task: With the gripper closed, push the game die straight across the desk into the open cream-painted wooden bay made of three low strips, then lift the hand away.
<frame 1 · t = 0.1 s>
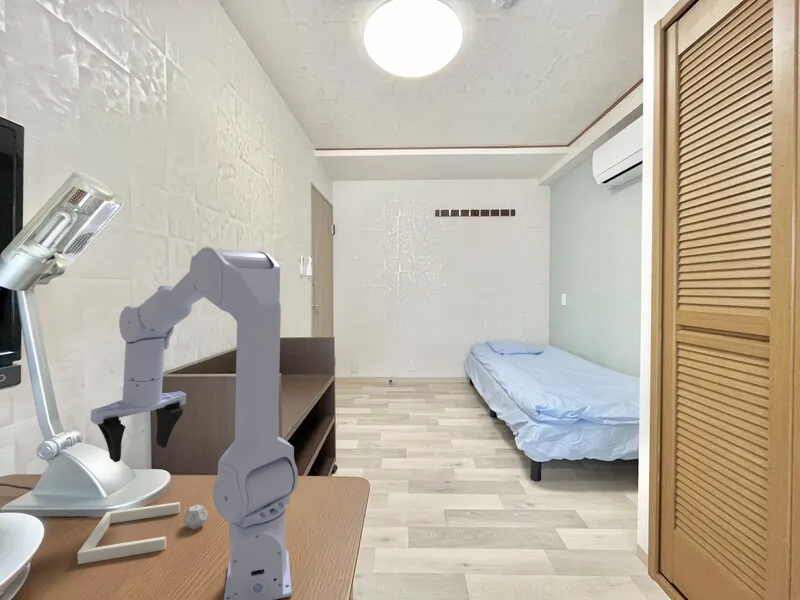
hand: (139, 452, 75), 11 cm above the table, fingers open, 7 cm apart
bay: (137, 534, 69), on the table
game die: (196, 527, 71), on the table
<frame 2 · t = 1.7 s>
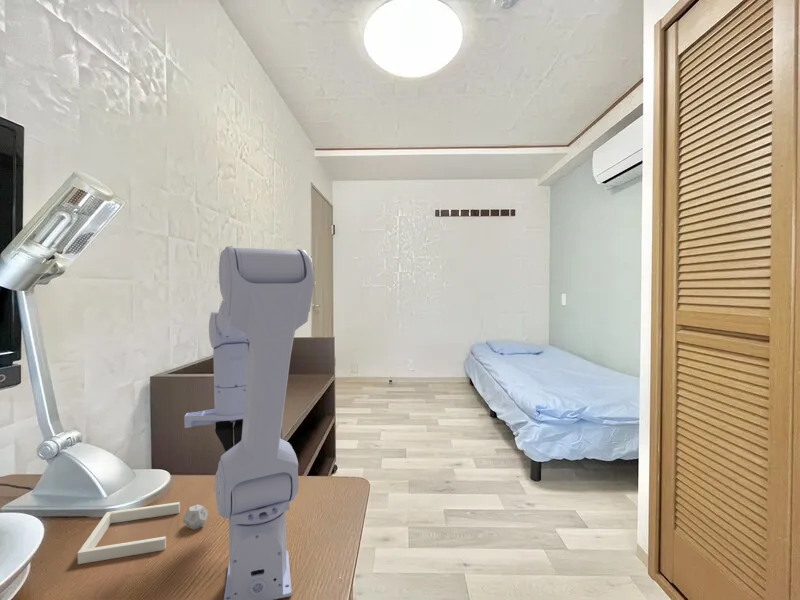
hand: (234, 465, 73), 9 cm above the table, fingers closed
nothing on the table moved.
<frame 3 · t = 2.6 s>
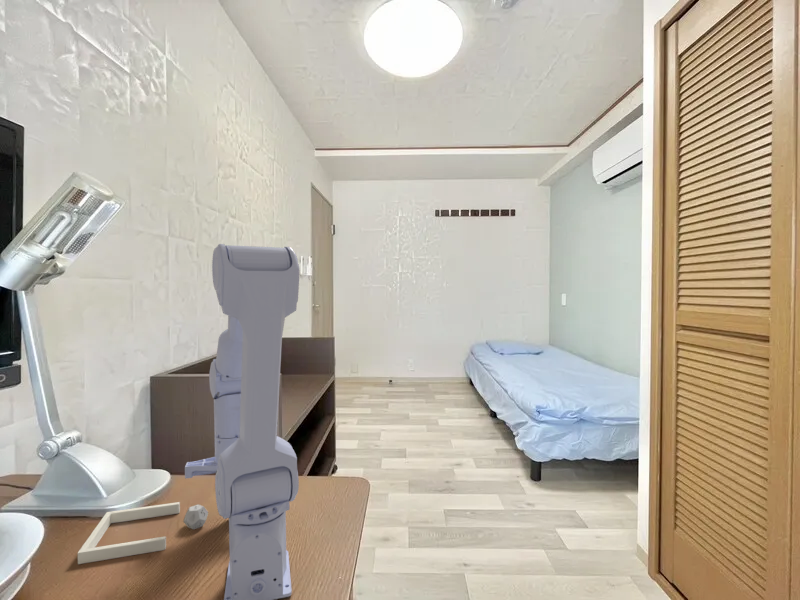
hand: (234, 513, 73), 1 cm above the table, fingers closed
nothing on the table moved.
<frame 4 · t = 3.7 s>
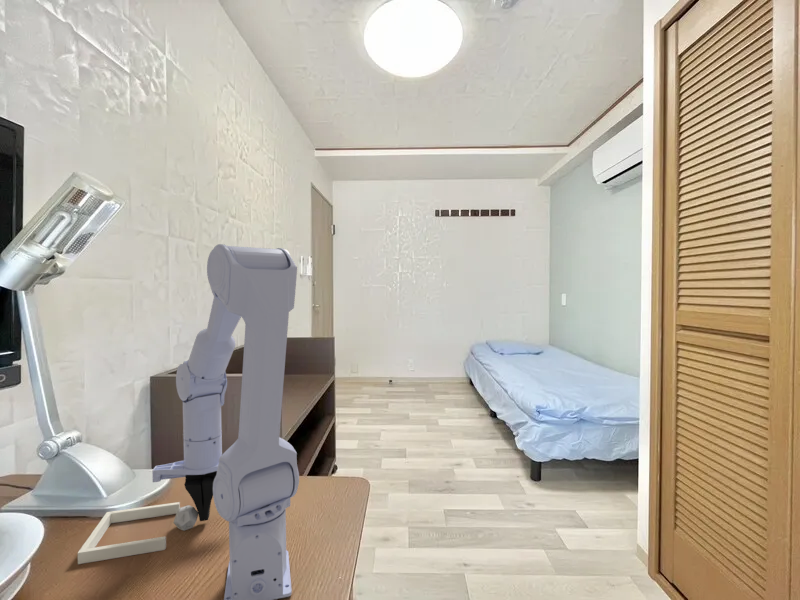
hand: (204, 517, 71), 1 cm above the table, fingers closed
game die: (186, 528, 71), on the table, touching gripper
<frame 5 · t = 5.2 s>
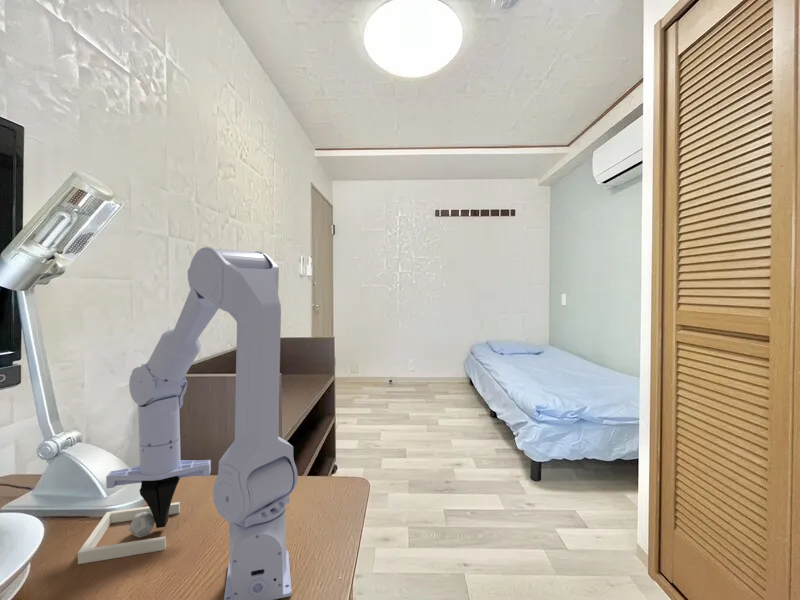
hand: (162, 524, 70), 1 cm above the table, fingers closed
game die: (142, 535, 69), on the table, touching gripper
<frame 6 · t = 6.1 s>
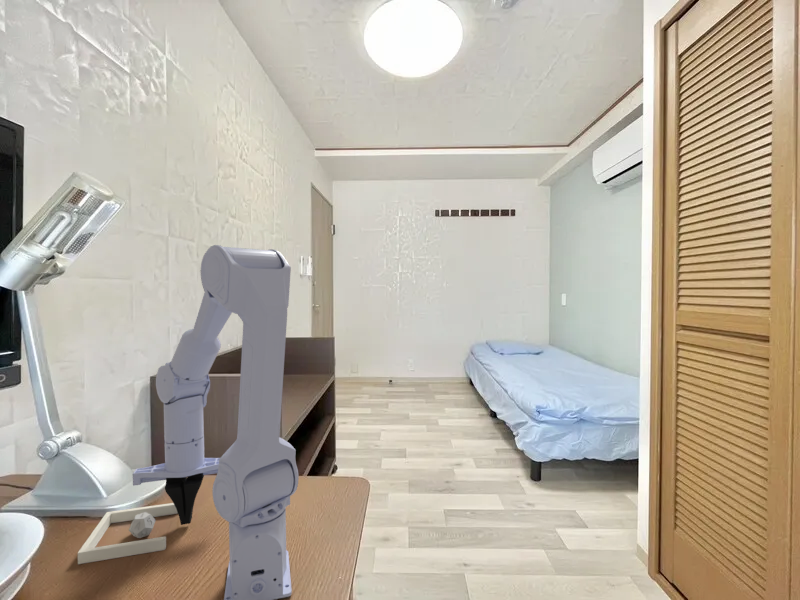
hand: (186, 521, 71), 1 cm above the table, fingers closed
game die: (142, 535, 69), on the table
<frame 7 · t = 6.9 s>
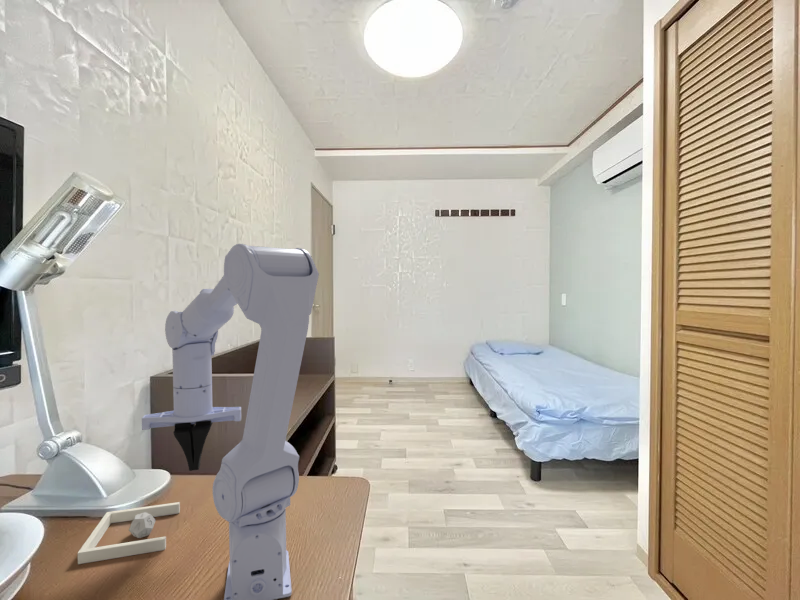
hand: (194, 467, 71), 9 cm above the table, fingers closed
nothing on the table moved.
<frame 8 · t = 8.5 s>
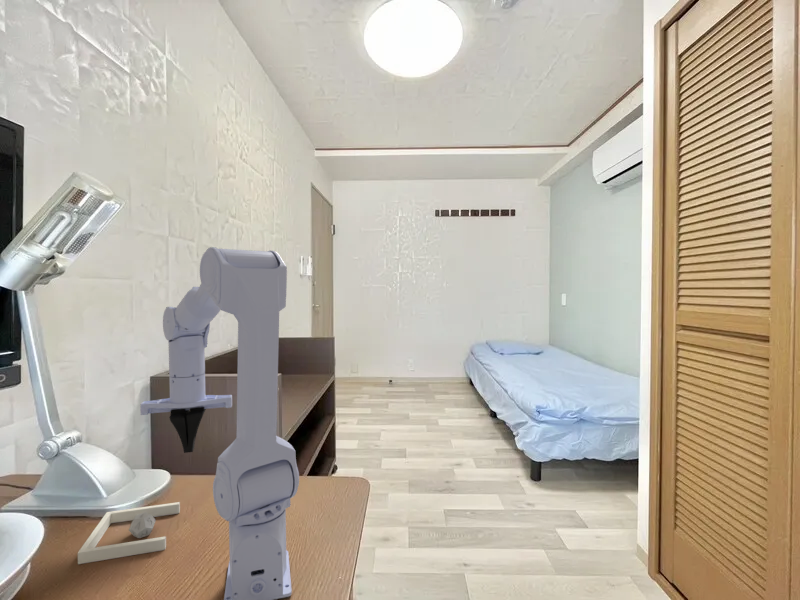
hand: (189, 450, 77), 10 cm above the table, fingers closed
nothing on the table moved.
at the end: game die 0.8 cm from the bay (horizontally); game die on the table; game die moved 7.7 cm from its start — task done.
